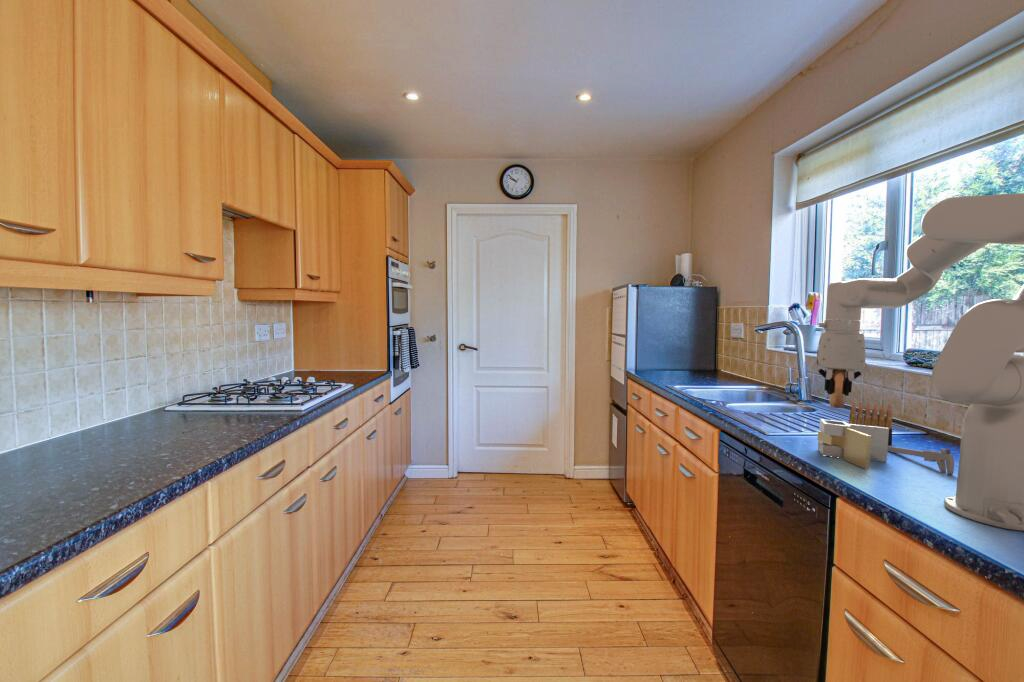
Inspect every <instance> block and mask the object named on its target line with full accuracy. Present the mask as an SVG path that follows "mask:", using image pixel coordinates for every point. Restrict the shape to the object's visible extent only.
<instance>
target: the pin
mask: <svg viewBox="0 0 1024 682" xmlns="http://www.w3.org/2000/svg"><path fill="white" fill-rule="evenodd" d="M831 377H832V380H833V391H832V394H829V395H830V396H829V397H830V399H829V407H830V408H835V409H844V404H845V403H844V401H845V395H844V391H845V378H846V370H844V369H833V371H832V376H831Z"/></svg>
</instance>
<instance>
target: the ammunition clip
mask: <svg viewBox="0 0 1024 682" xmlns="http://www.w3.org/2000/svg"><path fill="white" fill-rule="evenodd" d="M870 406H871V405H870V404H869V403H867V404H866V405H865V408H864V405H863V403H862V402H860V403H859V404H858V407H857V408H856V403H855V402H852V404H851V407H850V414H849V419H848V424H856V425H866V426H875V427H885V428H889V436H888V446H893V409H892V406H891V404H889V405H888V407H887V409H886V411H885V405H884V404H881V406H880V409H879V413H878V406H877V404H876V403H875V404H874V405H873V407H872V411H871V407H870ZM864 409H865V410H864ZM856 411H857V412H856ZM885 412H886V415H885Z"/></svg>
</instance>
